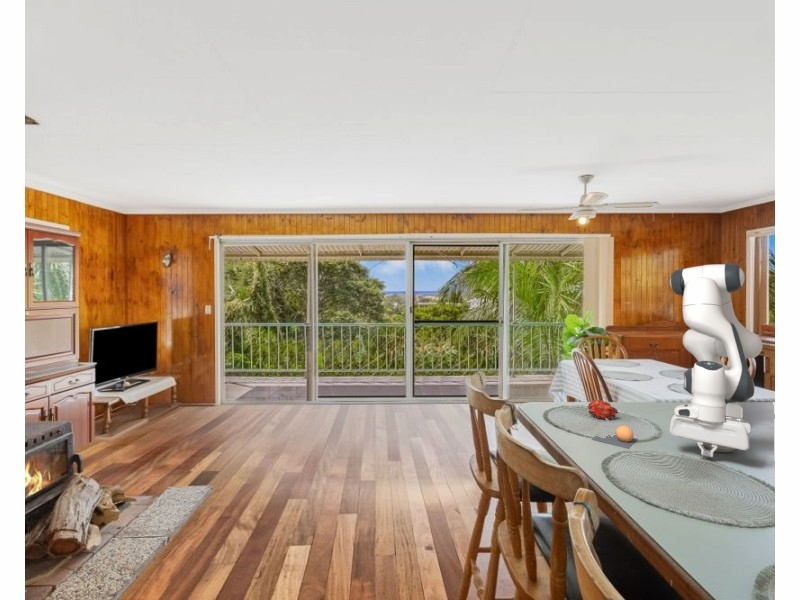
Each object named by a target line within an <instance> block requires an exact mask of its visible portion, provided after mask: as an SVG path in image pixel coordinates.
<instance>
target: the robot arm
mask: <svg viewBox="0 0 800 600" xmlns="http://www.w3.org/2000/svg"><path fill="white" fill-rule="evenodd" d="M745 277H746V276H745V272H744V270H743V269H742V268H741V266H740V265H738V264H737V263H723V264H722V263H720V264H718V263H717V264H704V265H698V266H692V267H687V268H684V267H682V268H679V269H676V270H673V272H672V273H671V276H670V277H669V278H670V280H669V285H670V287H671V290H672V292H673V293H674V294H675V295H678V296H681V297H682V317H683V321H684V323H685V325H686V326H687V327H688V328H689V329H688V330H686V332H685V333H684V334H683V336H682V345H683V346H684V348H685V350H686V351H688V352H689V353H690V354H691V355H693V356H694V358H695V359H696V361H697V362H695V363H694V365H693V367H691V368H688V369H687V370H686V371H684V373H683V376H684V379H683V380H684V381H683V390H685V391H686V392H687V393H688V394H690V395H692V398H691V401H690V402H691V403H687V404H685V403H684V404H678V405H676V407H675V408H674V415H673V416H671V418H670V423H669V433H670V435H672V436H675V437H679V438H684V439H689V440H693V441H696V442H697V443H696V444H697V446H698V447H699V449H700V451H701V452H700V453H701V456H705V457H709V458H713V457H714V452H716V451H715V450H716V449H717V447H718V445H721V446H726V447H731V448H736V449H735V450H742V451H747V450H749V448H750V436H749V434H750V433H751V432H752V425H751V423H750V422H749V421H748V420H746V419H744V418H745V417H744V415H743V407H742V406H741V405H740V404H739V403H744V402H746V401H748V400H750V399H751V398H753V397H754V394H755V389H756V388H755V383H754V380H753V379H752V375H751V373H750V369H749V367H748V364H747V360H746V359H754V358H757V357H758V356H759V355H760V353H761V352H762V350H763V347H764V346H763V342H762V339H761V338H760V336H759V335H758V334H756V333H754V332H753V331H750V329H748V328H746V327H745V326H744V325H743V324H742V323H741V322H740V321H739V320H738V318H737V317H736V314H735V311H734V307H733V306H734V305H733V303H732V302H733V300H732V295H731V293H734V292H738V291H740V289H742V288H743V285H744V283H745ZM721 357H725V358H727V360H728V363H729V366H728V365H726V364H725V363H723V361H722V360H721ZM703 442H707V443H712V447H713V448H712V449H711V450H710V449H708V448H707V449H706V448H705V446H704V445H703Z"/></svg>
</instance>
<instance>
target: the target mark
mask: <svg viewBox="0 0 800 600" xmlns="http://www.w3.org/2000/svg"><path fill="white" fill-rule="evenodd" d="M608 436H609V437H608ZM608 436H606V438H604V439H603V438H599V437H598V436H596V435H595V436H594V437H592V438H591V440H592V441H596V442H601V443H604V444H608V445H613V446H617V447H621V448H624V449H628V450H629V449H630V447H632V446H633V444H634V443H635V442H636V441H637V440H638V438H636V437H633V439H632V440H631V441H629V442H623V441H621V440H619V439H618V438H617V436H616V435H614V436H613V437H611V436H610V435H608Z"/></svg>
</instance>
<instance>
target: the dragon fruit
mask: <svg viewBox="0 0 800 600" xmlns="http://www.w3.org/2000/svg"><path fill="white" fill-rule="evenodd" d="M586 407H587V409H588V413H589V414H590V415H594V417H595V416H596V417H595V418H596V419H598V418H599V419H602V418H608V419H610V418H615V417H616V415H617V414H619V411H618V409H617V408H615V407H613V406H612V405H611V403H608V401H604V400H603V399H601V400H600V399H594V400H591V401H590V402H589V403H588V405H587V406H586ZM600 417H601V418H600Z"/></svg>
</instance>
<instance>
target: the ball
mask: <svg viewBox="0 0 800 600" xmlns="http://www.w3.org/2000/svg"><path fill="white" fill-rule="evenodd" d="M615 434H616V436H617V438H618V439H619V440H621V441H623V442H629V441H631V440H632V439H633V438H634V431H633V429H632V428H630V426H627V425H620V426H618V427H617V428H616V430H615Z"/></svg>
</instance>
